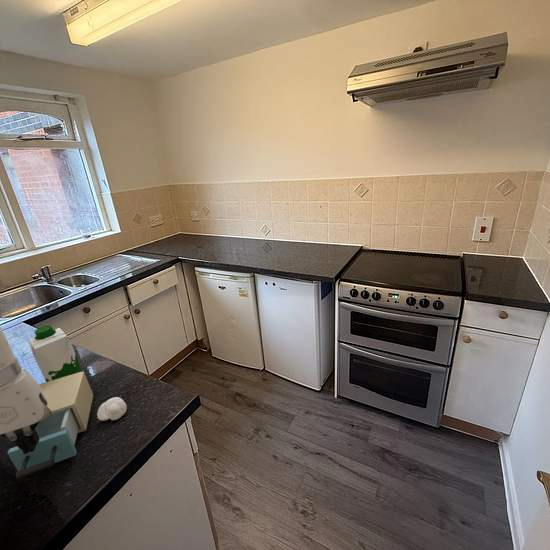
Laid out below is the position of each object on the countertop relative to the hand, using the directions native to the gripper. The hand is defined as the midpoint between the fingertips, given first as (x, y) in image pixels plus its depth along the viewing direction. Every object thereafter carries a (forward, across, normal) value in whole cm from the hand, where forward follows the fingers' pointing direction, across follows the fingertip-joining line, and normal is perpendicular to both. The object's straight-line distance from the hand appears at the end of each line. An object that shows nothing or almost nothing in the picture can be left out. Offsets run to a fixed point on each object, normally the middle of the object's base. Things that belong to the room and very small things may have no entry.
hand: (31, 446), depth 61 cm
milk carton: (+9, -1, +30) cm, 32 cm away
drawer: (+8, 0, +5) cm, 9 cm away
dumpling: (+9, +12, +11) cm, 19 cm away
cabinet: (+9, 0, +16) cm, 18 cm away
